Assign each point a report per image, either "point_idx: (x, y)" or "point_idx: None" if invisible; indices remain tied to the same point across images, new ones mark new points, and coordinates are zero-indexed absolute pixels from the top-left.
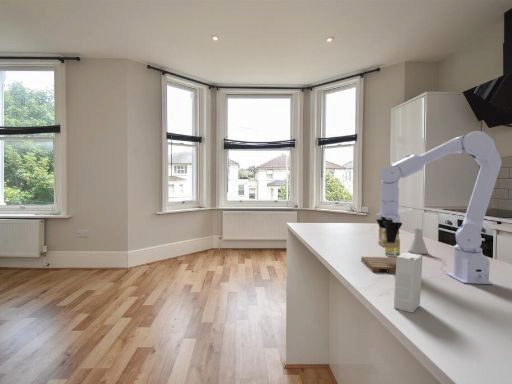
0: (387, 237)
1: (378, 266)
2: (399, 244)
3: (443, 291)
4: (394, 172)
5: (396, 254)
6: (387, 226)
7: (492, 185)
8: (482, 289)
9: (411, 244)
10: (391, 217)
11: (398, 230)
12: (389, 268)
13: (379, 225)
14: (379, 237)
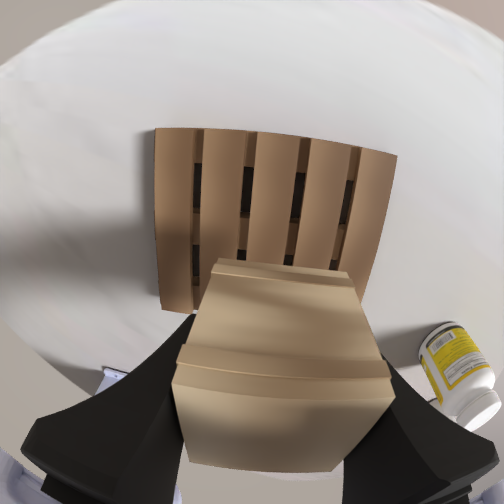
0: (171, 336)
1: (160, 160)
2: (436, 395)
3: (32, 281)
4: None
5: (421, 356)
6: (68, 414)
7: None
8: (80, 368)
9: (451, 417)
10: (3, 501)
11: (188, 457)
12: (156, 214)
13: (423, 422)
14: (341, 311)
